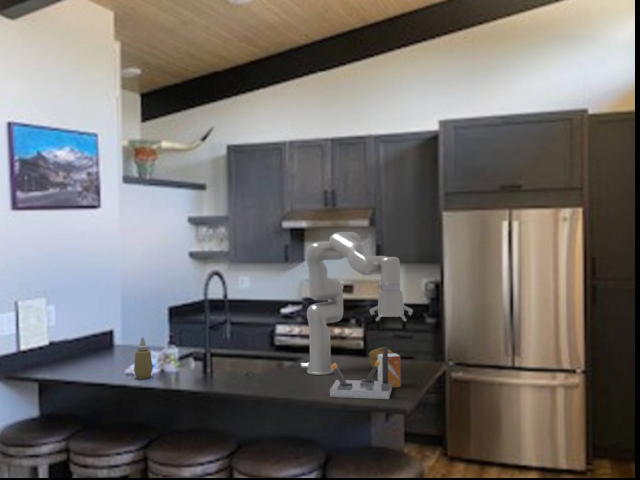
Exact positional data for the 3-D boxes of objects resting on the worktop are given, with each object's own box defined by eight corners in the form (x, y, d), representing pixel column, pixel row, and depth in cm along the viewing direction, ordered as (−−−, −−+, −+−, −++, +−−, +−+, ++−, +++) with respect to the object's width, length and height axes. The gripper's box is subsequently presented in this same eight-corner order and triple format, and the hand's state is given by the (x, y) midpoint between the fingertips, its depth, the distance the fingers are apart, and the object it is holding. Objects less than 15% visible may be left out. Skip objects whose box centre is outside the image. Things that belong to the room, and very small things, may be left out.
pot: (366, 371, 301) (366, 349, 300) (371, 365, 312) (370, 344, 312) (392, 372, 298) (392, 350, 298) (395, 366, 309) (395, 345, 309)
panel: (330, 397, 257) (329, 386, 257) (336, 387, 272) (336, 377, 272) (389, 399, 252) (388, 388, 252) (392, 388, 268) (391, 378, 268)
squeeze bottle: (156, 376, 296) (155, 337, 296) (144, 380, 289) (143, 340, 289) (142, 375, 300) (141, 335, 299) (130, 379, 292) (129, 338, 292)
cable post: (381, 390, 254) (380, 348, 254) (382, 388, 257) (381, 346, 257) (389, 390, 254) (388, 348, 253) (389, 388, 257) (389, 346, 257)
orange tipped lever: (342, 386, 258) (330, 366, 258) (343, 384, 261) (331, 364, 261) (345, 384, 257) (334, 364, 258) (347, 382, 260) (335, 362, 261)
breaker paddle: (365, 380, 263) (376, 361, 262) (366, 378, 266) (377, 359, 265) (369, 382, 263) (380, 363, 262) (369, 381, 266) (380, 362, 265)
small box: (382, 388, 269) (382, 356, 269) (377, 384, 275) (377, 353, 275) (401, 387, 271) (400, 355, 270) (395, 383, 277) (395, 352, 277)
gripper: (368, 288, 260) (368, 332, 260) (412, 288, 257) (412, 332, 257) (370, 287, 267) (370, 329, 268) (412, 286, 264) (413, 329, 265)
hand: (391, 330), depth 262 cm, fingers open, 9 cm apart
